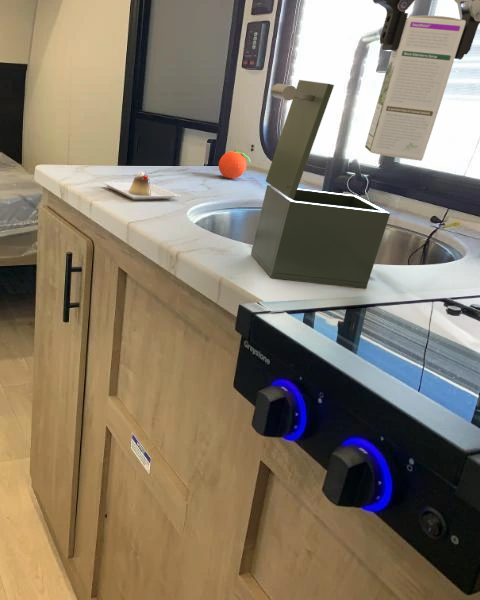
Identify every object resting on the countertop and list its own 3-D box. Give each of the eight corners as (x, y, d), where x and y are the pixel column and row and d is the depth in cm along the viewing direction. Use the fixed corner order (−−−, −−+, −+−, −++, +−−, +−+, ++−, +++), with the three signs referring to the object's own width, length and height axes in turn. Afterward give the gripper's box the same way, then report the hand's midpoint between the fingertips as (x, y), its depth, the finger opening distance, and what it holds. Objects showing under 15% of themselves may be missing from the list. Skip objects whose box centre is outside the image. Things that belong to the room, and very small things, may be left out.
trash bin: (336, 263, 93) (356, 195, 89) (366, 288, 83) (390, 213, 79) (250, 254, 93) (267, 184, 88) (270, 278, 83) (290, 201, 79)
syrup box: (423, 161, 67) (471, 18, 61) (367, 153, 68) (409, 12, 62) (413, 155, 72) (457, 23, 66) (361, 147, 73) (400, 17, 68)
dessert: (180, 201, 122) (184, 177, 120) (131, 201, 116) (135, 177, 114) (146, 187, 132) (150, 165, 130) (100, 187, 126) (103, 164, 124)
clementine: (248, 179, 157) (254, 152, 154) (245, 183, 150) (252, 155, 148) (218, 174, 159) (223, 147, 156) (214, 177, 153) (219, 149, 150)
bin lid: (304, 81, 83) (270, 73, 82) (334, 85, 73) (295, 75, 73) (270, 182, 88) (237, 175, 88) (294, 198, 78) (257, 190, 78)
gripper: (428, -146, 56) (374, 46, 62) (574, -124, 56) (506, 63, 63) (389, -125, 62) (344, 47, 69) (519, -105, 63) (463, 62, 70)
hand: (421, 54), depth 66 cm, fingers closed on syrup box, 7 cm apart
